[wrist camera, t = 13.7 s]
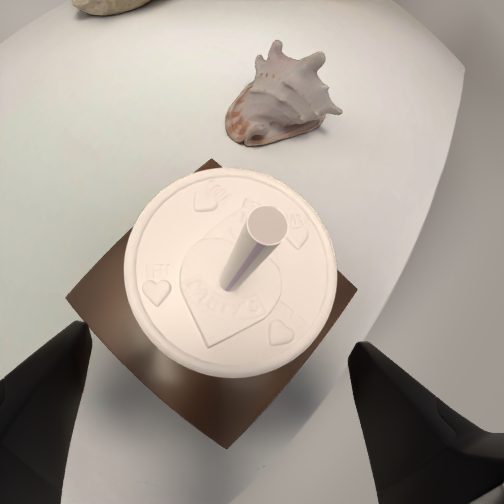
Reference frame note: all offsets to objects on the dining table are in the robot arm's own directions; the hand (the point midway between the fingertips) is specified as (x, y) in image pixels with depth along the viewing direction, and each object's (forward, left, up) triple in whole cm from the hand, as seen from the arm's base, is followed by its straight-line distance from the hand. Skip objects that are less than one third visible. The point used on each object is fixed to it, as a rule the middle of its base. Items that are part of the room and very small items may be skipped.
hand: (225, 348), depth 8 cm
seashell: (+10, -20, -12) cm, 26 cm away
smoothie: (+2, -2, -8) cm, 9 cm away
